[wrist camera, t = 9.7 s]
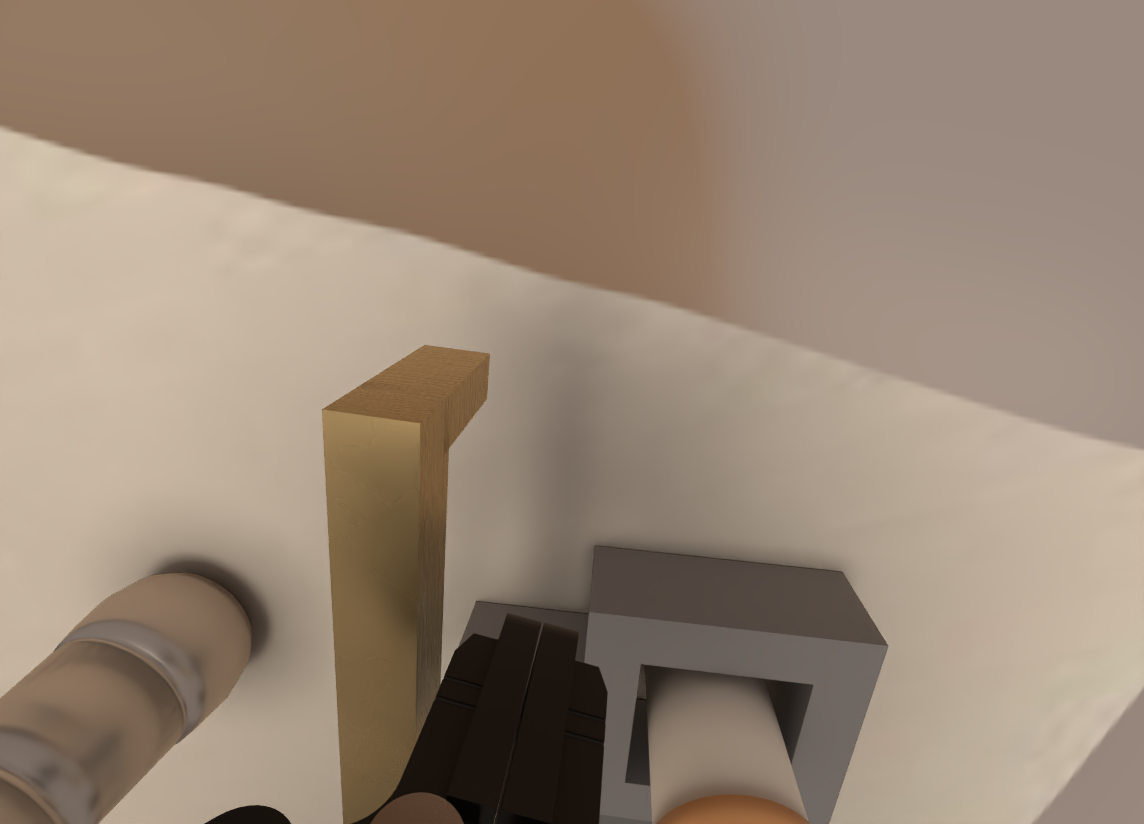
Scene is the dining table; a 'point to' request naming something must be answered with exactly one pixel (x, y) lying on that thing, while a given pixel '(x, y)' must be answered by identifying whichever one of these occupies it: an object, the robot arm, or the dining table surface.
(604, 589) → the socket block
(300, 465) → the dining table surface
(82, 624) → the plastic bottle
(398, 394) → the lever
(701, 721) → the plug
